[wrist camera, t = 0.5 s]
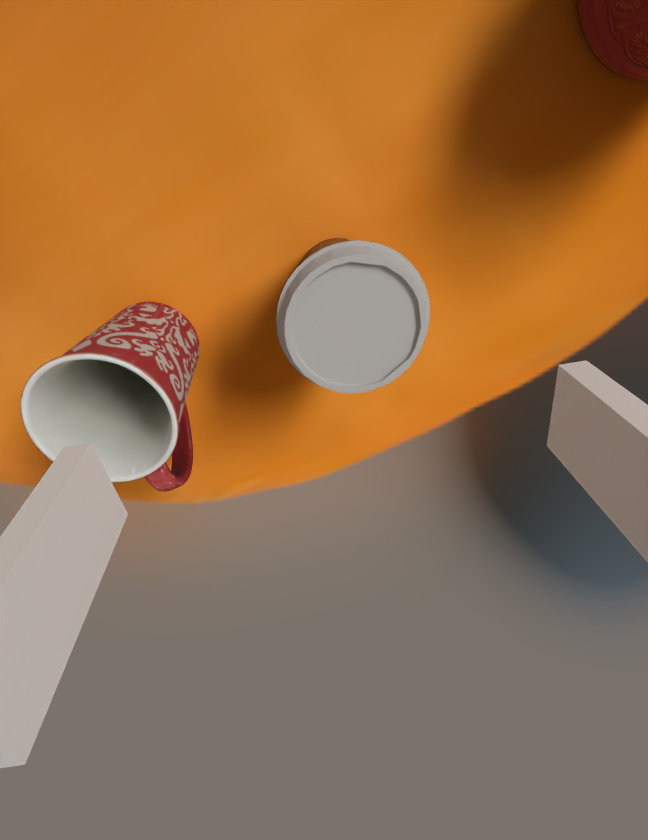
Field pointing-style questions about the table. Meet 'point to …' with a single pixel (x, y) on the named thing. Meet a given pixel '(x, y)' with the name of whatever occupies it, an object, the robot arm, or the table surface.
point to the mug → (121, 396)
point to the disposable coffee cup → (353, 315)
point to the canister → (617, 34)
